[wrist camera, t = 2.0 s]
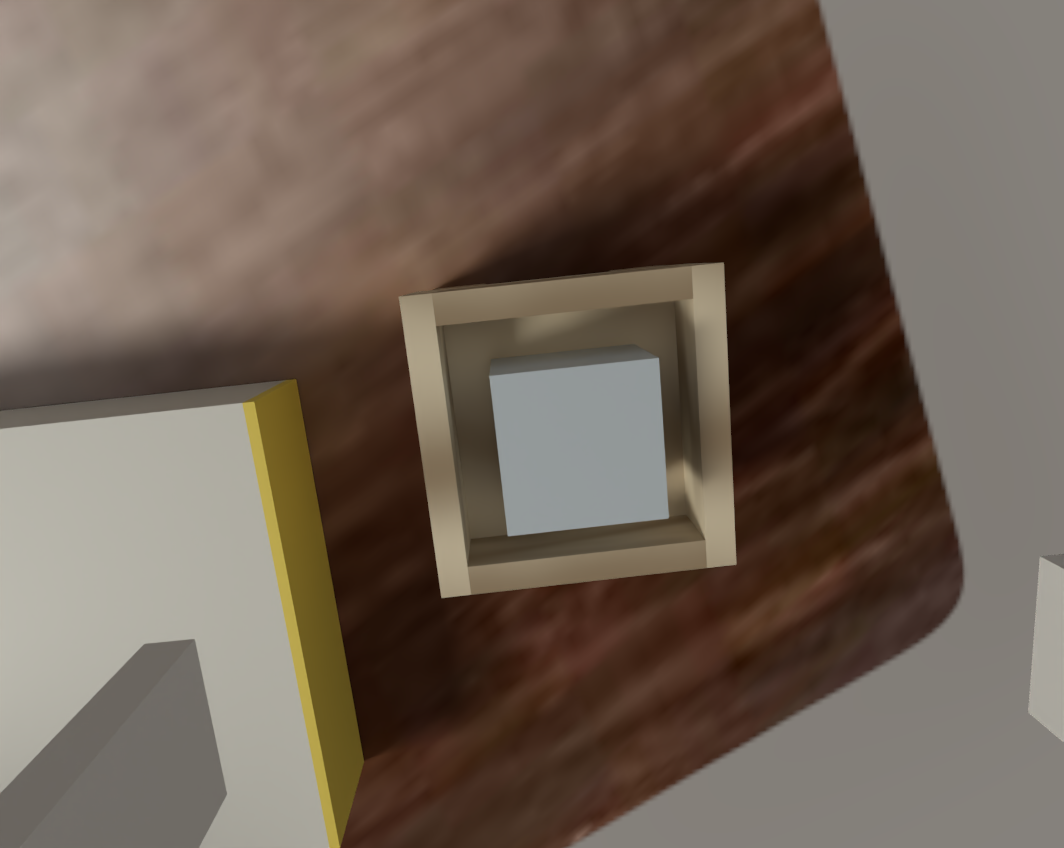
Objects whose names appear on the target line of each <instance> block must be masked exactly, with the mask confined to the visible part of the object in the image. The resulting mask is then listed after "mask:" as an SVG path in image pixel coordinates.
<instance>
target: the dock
mask: <svg viewBox="0 0 1064 848" xmlns="http://www.w3.org/2000/svg"><path fill="white" fill-rule="evenodd" d="M189 639H195V642H196V647H197V652H198V657H199V661H200V666H201V671H202V676H203V681H204V685H205V690H206V695H207V700H208V705H209V709H210V714H211V719H212V724H213V729H214V733H215V738H216V743H217V748H218V753H219V757H220V762H221V767H222V772H223V777H224V781H225V786H226V791H227V796H226V798H225V800H224V801H223V803H222V805H221V807H220V809H219V811H218V813H217V815H216V817H215V818H214V820H213V822H212V824H211V826H210V828H209V830H208V832H207V834H206V836H205V837H204V839H203V841H202V843H201V845H200V847H199V848H340V846H341V843H342V839H343V836H344V832H345V828H346V825H347V821H348V818H349V814H350V810H351V807H352V803H353V800H354V796H355V792H356V789H357V785H358V782H359V778H360V774H361V771H362V767H363V764H364V758H363V752H362V747H361V741H360V735H359V730H358V724H357V719H356V713H355V707H354V702H353V696H352V690H351V685H350V679H349V674H348V668H347V662H346V657H345V651H344V645H343V640H342V634H341V629H340V623H339V617H338V612H337V606H336V600H335V595H334V589H333V584H332V578H331V572H330V567H329V561H328V555H327V550H326V544H325V538H324V533H323V527H322V522H321V516H320V510H319V505H318V499H317V493H316V488H315V482H314V477H313V471H312V465H311V460H310V454H309V448H308V443H307V437H306V432H305V426H304V420H303V415H302V409H301V403H300V398H299V392H298V387H297V381H296V379H291V380H282V381H273V382H263V383H254V384H245V385H235V386H226V387H217V388H207V389H198V390H189V391H179V392H170V393H161V394H151V395H142V396H133V397H123V398H114V399H105V400H95V401H86V402H77V403H67V404H58V405H49V406H39V407H30V408H21V409H11V410H2V411H0V793H1V792H2V791H3V790H4V789H5V788H6V787H7V786H8V785H9V784H10V783H11V782H12V781H13V780H14V778H15V777H16V776H17V775H18V774H19V773H20V772H21V771H22V770H23V769H24V768H25V767H26V766H27V765H28V764H29V763H30V762H31V761H32V760H33V759H34V758H35V757H36V756H37V755H38V754H39V753H40V752H41V750H42V749H43V748H44V747H45V746H46V745H47V744H48V743H49V742H50V741H51V740H52V739H53V738H54V737H55V736H56V735H57V734H58V733H59V732H60V731H61V730H62V729H63V728H64V727H65V726H66V725H67V723H68V722H69V721H70V720H71V719H72V718H73V717H74V716H75V715H76V714H77V713H78V712H79V711H80V710H81V709H82V708H83V707H84V706H85V705H86V704H87V703H88V702H89V701H90V700H91V699H92V698H93V696H94V695H95V694H96V693H97V692H98V691H99V690H100V689H101V688H102V687H103V686H104V685H105V684H106V683H107V682H108V681H109V680H110V679H111V678H112V677H113V676H114V675H115V674H116V673H117V672H118V671H119V670H120V668H121V667H122V666H123V665H124V664H125V663H126V662H127V661H128V660H129V659H130V658H131V657H132V656H133V655H134V654H135V653H136V652H137V651H138V650H139V649H140V648H141V647H142V646H143V645H144V644H148V643H158V642H168V641H179V640H189Z"/></svg>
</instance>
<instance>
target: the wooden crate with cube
mask: <svg viewBox="0 0 1064 848" xmlns="http://www.w3.org/2000/svg"><path fill="white" fill-rule="evenodd" d="M399 302H400V309H401V316H402V323H403V330H404V337H405V344H406V351H407V358H408V365H409V372H410V379H411V387H412V394H413V401H414V408H415V415H416V422H417V429H418V436H419V443H420V450H421V457H422V464H423V471H424V478H425V485H426V493H427V500H428V507H429V514H430V521H431V528H432V535H433V542H434V549H435V556H436V563H437V570H438V577H439V584H440V591H441V598H447V597H456V596H464V595H473V594H482V593H491V592H499V591H508V590H517V589H526V588H535V587H543V586H552V585H561V584H570V583H579V582H587V581H596V580H605V579H614V578H623V577H631V576H640V575H649V574H658V573H666V572H675V571H684V570H693V569H702V568H710V567H719V566H728V565H736V545H735V521H734V497H733V473H732V448H731V424H730V400H729V375H728V351H727V327H726V303H725V278H724V263H690V264H678V265H657V266H647V267H638V268H628V269H619V270H609V272H602V273H592V274H582V275H573V276H563V277H554V278H544V279H535V280H525V281H516V282H506V283H497V284H487V285H486V283H485V284H476V285H466V286H457V287H447V288H438V289H433V290H430V291H421V292H414V293H411V294H407V295H403V296H400V297H399ZM628 344H635V345H637V346H639V347H640V348H642V349H644V350H646V351H648V352H649V353H651V354H653V355H655V356H656V357H658V358H659V367H660V383H661V399H662V415H663V431H664V447H665V463H666V479H667V495H668V511H669V519H660V520H651V521H642V522H633V523H624V524H615V525H606V526H597V527H588V528H579V529H570V530H561V531H552V532H543V533H534V534H525V535H516V536H508V534H507V525H506V516H505V508H504V499H503V490H502V482H501V473H500V465H499V456H498V447H497V439H496V430H495V421H494V413H493V404H492V395H491V387H490V378H489V374H490V365H491V359H497V358H506V357H515V356H525V355H534V354H544V353H553V352H562V351H572V350H581V349H591V348H600V347H609V346H619V345H628Z"/></svg>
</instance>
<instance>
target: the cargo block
mask: <svg viewBox="0 0 1064 848" xmlns="http://www.w3.org/2000/svg"><path fill="white" fill-rule="evenodd" d="M489 378H490V387H491V395H492V404H493V413H494V421H495V430H496V439H497V447H498V456H499V465H500V473H501V482H502V490H503V499H504V508H505V516H506V525H507V534H508V536H516V535H525V534H534V533H543V532H552V531H561V530H570V529H579V528H588V527H597V526H606V525H615V524H624V523H633V522H642V521H651V520H660V519H669V511H668V495H667V479H666V463H665V447H664V431H663V415H662V399H661V383H660V367H659V358H658V357H656V356H655V355H653V354H651V353H649V352H648V351H646V350H644V349H642V348H640V347H639V346H637V345H635V344H628V345H619V346H609V347H600V348H591V349H581V350H572V351H562V352H553V353H544V354H534V355H525V356H515V357H506V358H497V359H491V365H490V374H489Z"/></svg>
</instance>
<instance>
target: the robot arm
mask: <svg viewBox="0 0 1064 848" xmlns="http://www.w3.org/2000/svg"><path fill="white" fill-rule="evenodd" d="M1033 644H1034V645H1033V657H1032V671H1031V684H1030V698H1029V710H1028V712H1029V714H1031V715H1032V716H1033V717H1034V718H1035V719H1037V720H1038V721H1039V722H1040V723H1041V724H1043V725H1044V726H1045V727H1046V728H1047V729H1048V730H1050V731H1051V732H1052V733H1053V734H1054V735H1056V736H1057V737H1058V738H1059V739H1060V740H1062V741H1063V742H1064V554H1059V555H1048V556H1040V563H1039V576H1038V590H1037V604H1036V616H1035V630H1034V643H1033ZM226 796H227V791H226V786H225V781H224V777H223V772H222V767H221V762H220V757H219V753H218V748H217V743H216V738H215V733H214V729H213V724H212V719H211V714H210V709H209V705H208V700H207V695H206V690H205V685H204V681H203V676H202V671H201V666H200V661H199V657H198V652H197V647H196V642H195V639H189V640H179V641H168V642H158V643H148V644H144V645H143V646H142V647H141V648H140V649H139V650H138V651H137V652H136V653H135V654H134V655H133V656H132V657H131V658H130V659H129V660H128V661H127V662H126V663H125V664H124V665H123V666H122V667H121V668H120V670H119V671H118V672H117V673H116V674H115V675H114V676H113V677H112V678H111V679H110V680H109V681H108V682H107V683H106V684H105V685H104V686H103V687H102V688H101V689H100V690H99V691H98V692H97V693H96V694H95V695H94V696H93V698H92V699H91V700H90V701H89V702H88V703H87V704H86V705H85V706H84V707H83V708H82V709H81V710H80V711H79V712H78V713H77V714H76V715H75V716H74V717H73V718H72V719H71V720H70V721H69V722H68V723H67V725H66V726H65V727H64V728H63V729H62V730H61V731H60V732H59V733H58V734H57V735H56V736H55V737H54V738H53V739H52V740H51V741H50V742H49V743H48V744H47V745H46V746H45V747H44V748H43V749H42V750H41V752H40V753H39V754H38V755H37V756H36V757H35V758H34V759H33V760H32V761H31V762H30V763H29V764H28V765H27V766H26V767H25V768H24V769H23V770H22V771H21V772H20V773H19V774H18V775H17V776H16V777H15V778H14V780H13V781H12V782H11V783H10V784H9V785H8V786H7V787H6V788H5V789H4V790H3V791H2V792H1V793H0V848H199V847H200V845H201V843H202V841H203V839H204V837H205V836H206V834H207V832H208V830H209V828H210V826H211V824H212V822H213V820H214V818H215V817H216V815H217V813H218V811H219V809H220V807H221V805H222V803H223V801H224V800H225V798H226Z"/></svg>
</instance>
